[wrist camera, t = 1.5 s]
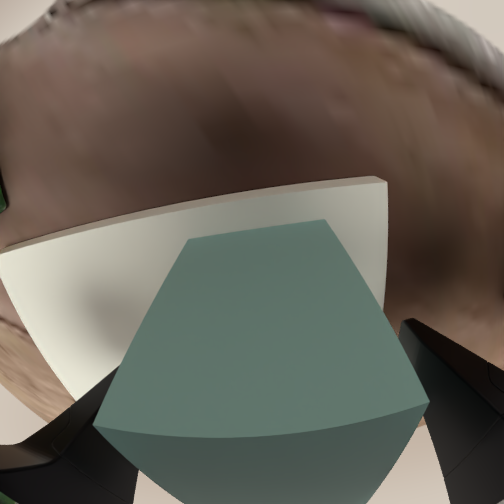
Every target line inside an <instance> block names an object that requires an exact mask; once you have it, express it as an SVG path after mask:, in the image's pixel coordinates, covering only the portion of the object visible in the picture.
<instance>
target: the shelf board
mask: <svg viewBox="0 0 504 504" xmlns="http://www.w3.org/2000/svg"><path fill="white" fill-rule="evenodd" d="M321 219H325V220H326V221H327V223H328V224H329V226H330V227H331V229H332V230H333V232H334V233H335V235H336V236H337V238H338V239H339V241H340V242H341V244H342V245H343V247H344V248H345V250H346V252H347V253H348V255H349V256H350V258H351V259H352V261H353V263H354V264H355V266H356V267H357V269H358V271H359V272H360V274H361V275H362V277H363V279H364V280H365V282H366V284H367V285H368V287H369V289H370V290H371V292H372V294H373V295H374V297H375V299H376V300H377V302H378V304H379V305H380V307H381V309H382V311H383V306H384V295H385V283H386V269H387V247H388V188H387V182H386V181H384V180H382V179H380V178H378V177H376V176H364V177H354V178H344V179H334V180H325V181H317V182H308V183H300V184H293V185H285V186H278V187H271V188H264V189H257V190H251V191H245V192H238V193H232V194H226V195H220V196H215V197H209V198H204V199H198V200H193V201H188V202H182V203H177V204H172V205H167V206H162V207H158V208H153V209H148V210H144V211H139V212H134V213H130V214H126V215H121V216H117V217H113V218H109V219H105V220H100V221H96V222H92V223H88V224H85V225H81V226H77V227H73V228H69V229H66V230H62V231H58V232H55V233H51V234H48V235H44V236H41V237H37V238H34V239H31V240H27V241H24V242H21V243H17V244H14V245H11V246H8V247H5V248H4V249H2V250H1V251H0V277H1V279H2V282H3V284H4V286H5V288H6V290H7V293H8V295H9V297H10V299H11V301H12V303H13V305H14V307H15V309H16V311H17V313H18V314H19V316H20V318H21V320H22V322H23V324H24V325H25V327H26V329H27V331H28V332H29V334H30V336H31V337H32V339H33V341H34V342H35V344H36V346H37V347H38V349H39V350H40V352H41V353H42V355H43V357H44V358H45V360H46V361H47V363H48V364H49V365H50V367H51V368H52V370H53V371H54V373H55V374H56V375H57V377H58V378H59V380H60V381H61V382H62V384H63V385H64V386H65V388H66V389H67V390H68V391H69V393H70V394H71V395H72V397H73V398H74V399H75V400H76V401H77V400H78V399H80V398H81V397H82V396H83V395H84V394H86V393H87V392H88V391H89V390H90V389H92V388H93V387H94V386H95V385H96V384H97V383H99V382H100V381H101V380H102V379H103V378H105V377H106V376H107V375H108V374H109V373H111V372H112V371H113V370H114V369H115V368H117V367H118V366H119V365H120V364H121V362H122V360H123V358H124V356H125V354H126V352H127V350H128V348H129V346H130V344H131V342H132V340H133V338H134V336H135V334H136V332H137V330H138V328H139V326H140V325H141V323H142V321H143V319H144V317H145V315H146V313H147V311H148V309H149V308H150V306H151V304H152V302H153V300H154V298H155V296H156V295H157V293H158V291H159V289H160V287H161V286H162V284H163V282H164V280H165V278H166V277H167V275H168V273H169V271H170V270H171V268H172V266H173V264H174V263H175V261H176V259H177V257H178V256H179V254H180V252H181V250H182V249H183V247H184V245H185V244H186V242H187V240H188V239H192V238H198V237H204V236H211V235H217V234H224V233H230V232H237V231H243V230H250V229H257V228H264V227H271V226H278V225H285V224H292V223H299V222H306V221H314V220H321Z"/></svg>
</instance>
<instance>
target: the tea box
mask: <svg viewBox="0 0 504 504" xmlns="http://www.w3.org/2000/svg"><path fill="white" fill-rule="evenodd" d="M429 402H430V401H429V399H428V397H427V395H426V393H425V391H424V388H423V386H422V384H421V382H420V380H419V378H418V376H417V374H416V372H415V370H414V368H413V366H412V364H411V362H410V360H409V358H408V356H407V354H406V353H405V351H404V349H403V347H402V345H401V343H400V341H399V339H398V338H397V336H396V334H395V332H394V330H393V328H392V327H391V325H390V323H389V321H388V319H387V318H386V316H385V314H384V312H383V311H382V309H381V307H380V305H379V304H378V302H377V300H376V299H375V297H374V295H373V294H372V292H371V290H370V289H369V287H368V285H367V284H366V282H365V280H364V279H363V277H362V275H361V274H360V272H359V271H358V269H357V267H356V266H355V264H354V263H353V261H352V259H351V258H350V256H349V255H348V253H347V252H346V250H345V248H344V247H343V245H342V244H341V242H340V241H339V239H338V238H337V236H336V235H335V233H334V232H333V230H332V229H331V227H330V226H329V224H328V223H327V221H326V220H325V219H321V220H314V221H306V222H299V223H292V224H285V225H278V226H271V227H264V228H257V229H250V230H243V231H237V232H230V233H224V234H217V235H211V236H204V237H198V238H192V239H188V240H187V242H186V244H185V245H184V247H183V249H182V250H181V252H180V254H179V256H178V257H177V259H176V261H175V263H174V264H173V266H172V268H171V270H170V271H169V273H168V275H167V277H166V278H165V280H164V282H163V284H162V286H161V287H160V289H159V291H158V293H157V295H156V296H155V298H154V300H153V302H152V304H151V306H150V308H149V309H148V311H147V313H146V315H145V317H144V319H143V321H142V323H141V325H140V326H139V328H138V330H137V332H136V334H135V336H134V338H133V340H132V342H131V344H130V346H129V348H128V350H127V352H126V354H125V356H124V358H123V360H122V362H121V364H120V366H119V368H118V370H117V372H116V375H115V377H114V379H113V381H112V383H111V385H110V387H109V389H108V392H107V394H106V396H105V398H104V400H103V403H102V405H101V407H100V409H99V411H98V414H97V416H96V418H95V421H94V423H93V426H94V427H95V428H96V429H97V430H98V431H99V432H100V433H101V434H102V436H103V437H104V438H105V439H106V440H107V441H108V442H109V443H110V444H111V445H112V446H114V447H115V448H116V449H117V450H118V451H119V452H120V453H121V454H122V455H123V456H124V457H125V458H126V459H127V460H129V461H130V462H131V463H132V464H133V465H134V466H135V467H137V468H138V469H139V470H140V471H141V472H143V473H144V474H145V475H146V476H147V477H149V478H150V479H151V480H152V481H154V482H155V483H156V484H158V485H159V486H160V487H161V488H163V489H164V490H165V491H167V492H168V493H169V494H171V495H172V496H174V497H175V498H176V499H178V500H179V501H181V502H182V503H184V504H366V503H367V502H368V501H369V499H370V498H371V497H372V495H373V494H374V493H375V492H376V490H377V489H378V487H379V486H380V485H381V483H382V482H383V480H384V479H385V478H386V476H387V475H388V473H389V472H390V470H391V469H392V468H393V466H394V464H395V463H396V461H397V460H398V458H399V457H400V455H401V453H402V452H403V450H404V448H405V447H406V445H407V443H408V442H409V440H410V438H411V437H412V435H413V433H414V431H415V429H416V428H417V426H418V424H419V422H420V420H421V418H422V416H423V414H424V412H425V410H426V408H427V406H428V404H429Z"/></svg>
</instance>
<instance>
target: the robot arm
mask: <svg viewBox="0 0 504 504" xmlns="http://www.w3.org/2000/svg"><path fill="white" fill-rule="evenodd" d="M398 339H399V341H400V343H401V345H402V347H403V349H404V351H405V353H406V354H407V356H408V358H409V360H410V362H411V364H412V366H413V368H414V370H415V372H416V374H417V376H418V378H419V380H420V382H421V384H422V386H423V388H424V391H425V393H426V395H427V397H428V399H429V401H430V402H429V404H428V406H427V408H426V410H425V412H424V414H423V417H424V419H425V422H426V425H427V428H428V430H429V433H430V436H431V439H432V442H433V445H434V448H435V451H436V454H437V457H438V460H439V464H440V467H441V470H442V474H443V477H444V481H445V485H446V489H447V492H448V496H449V500H450V504H504V371H503V370H502V369H500V368H498V367H496V366H495V365H493V364H491V363H490V362H488V363H487V361H486V360H484V359H483V358H481V357H479V356H478V355H476V354H474V353H473V352H471V351H469V350H468V349H466V348H464V347H463V346H461V345H459V344H457V343H456V342H454V341H452V340H451V339H449V338H447V337H446V336H444V335H442V334H440V333H439V332H437V331H435V330H433V329H432V328H430V327H428V326H427V325H425V324H423V323H421V322H420V321H418V320H416V319H414V318H410V319H406V320H403V321H402V323H401V327H400V333H399V338H398ZM119 366H120V365H119ZM119 366H118V367H117V368H115V369H114V370H113V371H112V372H111V373H109V374H108V375H107V376H106V377H105V378H103V379H102V380H101V381H100V382H99V383H97V384H96V385H95V386H94V387H93V388H92V389H90V390H89V391H88V392H87V393H86V394H84V395H83V396H82V397H81V398H80V399H78V400H77V401H76V402H75V403H74V404H72V405H71V406H70V407H69V408H68V409H66V410H65V411H64V412H63V413H62V414H60V415H59V416H58V417H57V418H55V419H54V420H53V421H51V422H50V423H49V424H47V425H46V426H45V427H43V428H42V429H40V430H39V431H37V432H36V433H34V434H33V435H31V436H30V437H28V438H27V439H26V440H24V441H22V442H20V443H18V444H14V445H0V504H133V501H134V494H135V488H136V482H137V476H138V471H139V469H138V468H137V467H135V466H134V465H133V464H132V463H131V462H130V461H129V460H127V459H126V458H125V457H124V456H123V455H122V454H121V453H120V452H119V451H118V450H117V449H116V448H115V447H114V446H112V445H111V444H110V443H109V442H108V441H107V440H106V439H105V438H104V437H103V436H102V434H101V433H100V432H99V431H98V430H97V429H96V428H95V427H94V426H93V423H94V421H95V418H96V416H97V414H98V411H99V409H100V407H101V405H102V403H103V400H104V398H105V396H106V394H107V392H108V389H109V387H110V385H111V383H112V381H113V379H114V377H115V375H116V372H117V370H118V368H119Z"/></svg>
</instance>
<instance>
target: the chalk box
mask: <svg viewBox="0 0 504 504" xmlns="http://www.w3.org/2000/svg"><path fill="white" fill-rule="evenodd" d="M5 208H6V203H5V200H4V198H3V194H2V190H1V187H0V213H1V212H2V211H3V210H4V209H5Z"/></svg>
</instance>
